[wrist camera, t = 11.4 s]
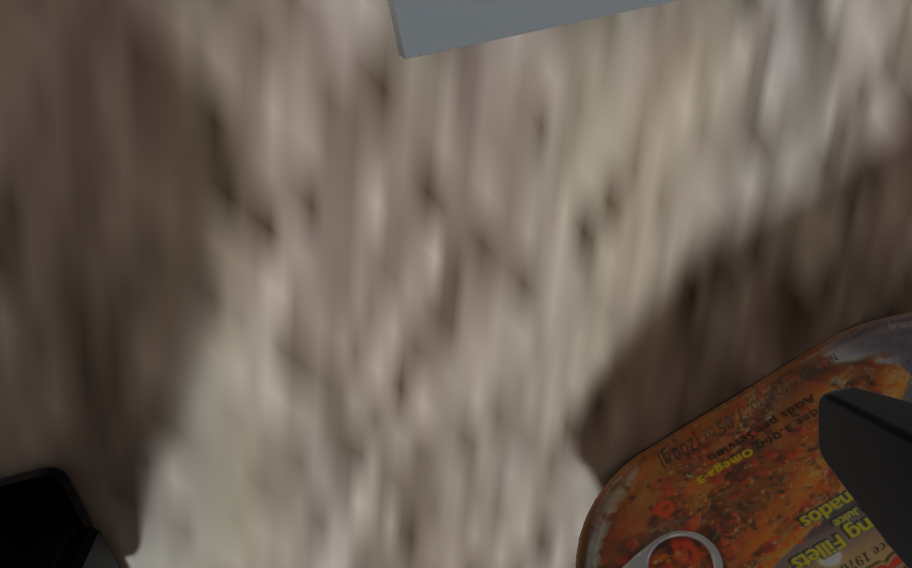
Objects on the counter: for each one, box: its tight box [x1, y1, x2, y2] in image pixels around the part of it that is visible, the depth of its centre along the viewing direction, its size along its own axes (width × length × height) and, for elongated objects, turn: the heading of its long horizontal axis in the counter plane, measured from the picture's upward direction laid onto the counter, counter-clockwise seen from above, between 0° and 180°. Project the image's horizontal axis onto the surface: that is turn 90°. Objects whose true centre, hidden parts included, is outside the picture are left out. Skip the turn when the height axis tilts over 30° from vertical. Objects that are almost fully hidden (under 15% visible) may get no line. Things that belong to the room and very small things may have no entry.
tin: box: [576, 313, 912, 568], centre depth 19 cm, size 15×3×8 cm, turn 121°
